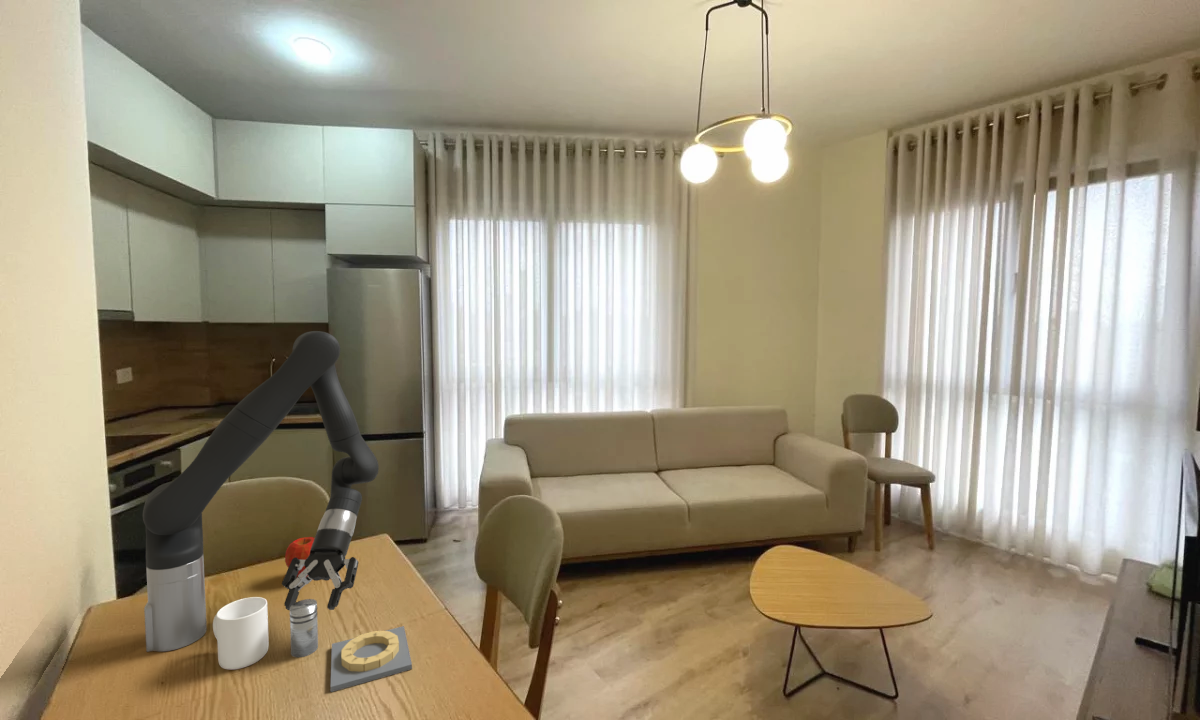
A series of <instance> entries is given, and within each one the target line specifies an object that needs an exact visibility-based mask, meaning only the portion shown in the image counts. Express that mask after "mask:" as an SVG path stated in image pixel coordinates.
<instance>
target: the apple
mask: <svg viewBox="0 0 1200 720" xmlns="http://www.w3.org/2000/svg"><path fill="white" fill-rule="evenodd" d="M314 538H315V537H313V536H307V537H300V538H297V539H296V540H293V541H292V542H291V543H289V545H288V547H287V548H286V550H285V554H284V555H285V556H284V562H285V565H286V567H287V569H288V568H289V565H290V563H291V561H292V559H293V558H295V557H296V558H298V559H300V560H306V559H307V558H308V556H309V555H310V550H311V547H312V544H313V541H314ZM305 569H306V568H305V566H303V567H302V569H301V570H299V572H298V574H297V577H296V579H297V578H298V575H299V574H300V573H301V572H303V571H304V570H305ZM307 576H308V575H307ZM307 576H306V577H307Z"/></svg>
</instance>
